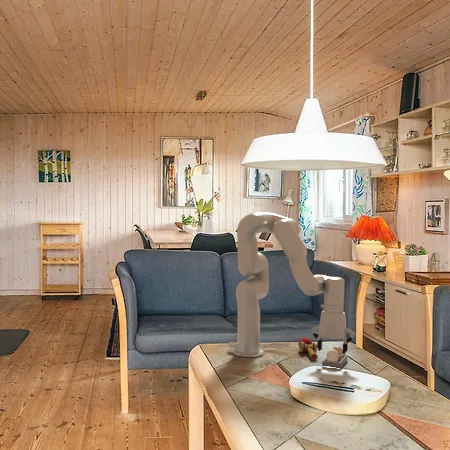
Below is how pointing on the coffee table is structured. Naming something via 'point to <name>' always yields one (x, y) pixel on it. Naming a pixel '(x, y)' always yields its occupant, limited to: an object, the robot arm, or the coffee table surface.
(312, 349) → the kendama
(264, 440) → the coffee table surface
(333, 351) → the egg
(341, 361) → the carton
